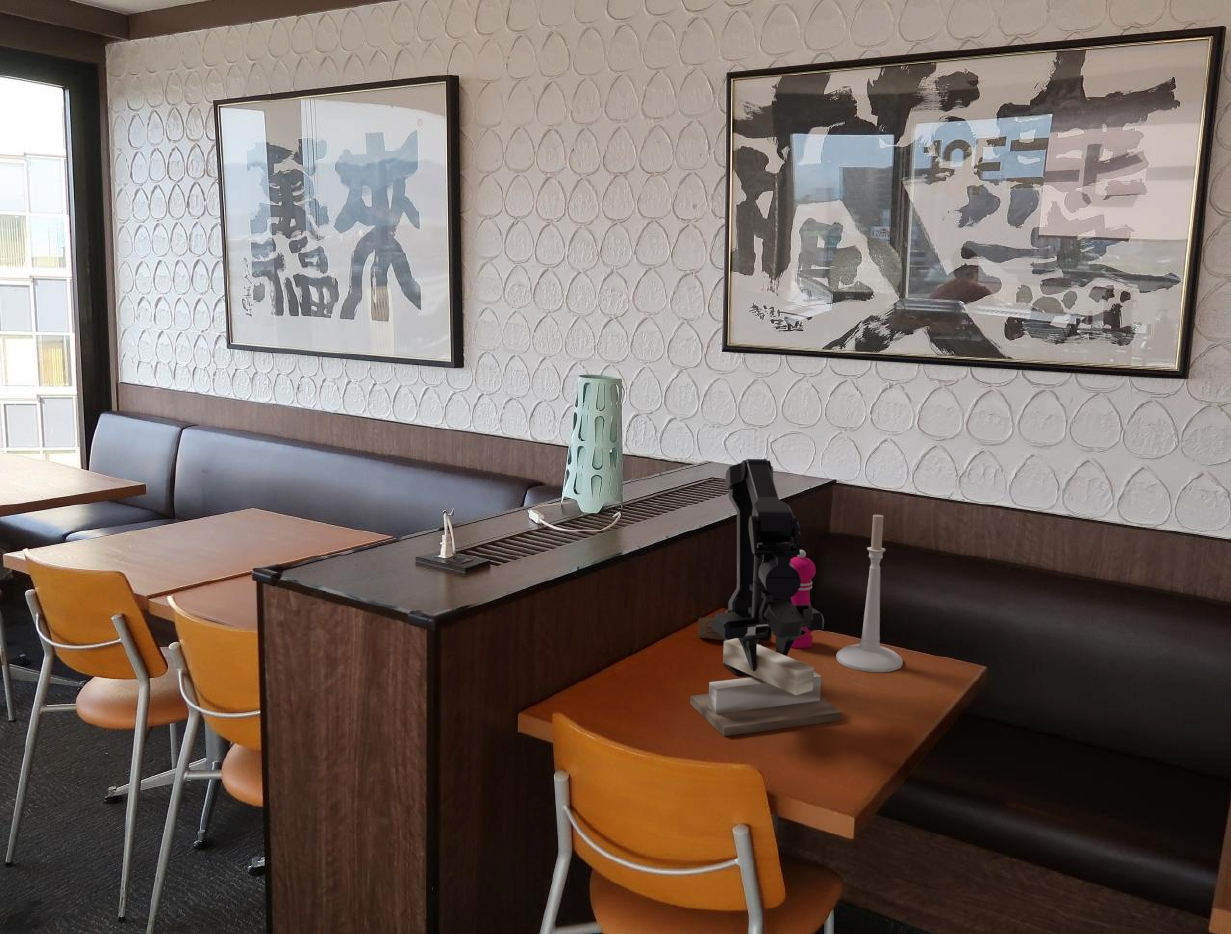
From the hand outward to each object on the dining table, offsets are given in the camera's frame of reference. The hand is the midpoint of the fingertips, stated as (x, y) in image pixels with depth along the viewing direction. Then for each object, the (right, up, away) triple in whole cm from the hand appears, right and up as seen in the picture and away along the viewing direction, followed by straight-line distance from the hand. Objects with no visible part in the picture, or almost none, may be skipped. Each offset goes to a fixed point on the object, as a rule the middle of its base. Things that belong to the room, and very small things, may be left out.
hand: (766, 669), depth 180 cm
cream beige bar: (0, -1, 0) cm, 1 cm away
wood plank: (-1, -2, +38) cm, 38 cm away
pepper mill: (+12, -2, +37) cm, 39 cm away
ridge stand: (0, -8, +1) cm, 8 cm away
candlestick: (+24, -4, +28) cm, 37 cm away
